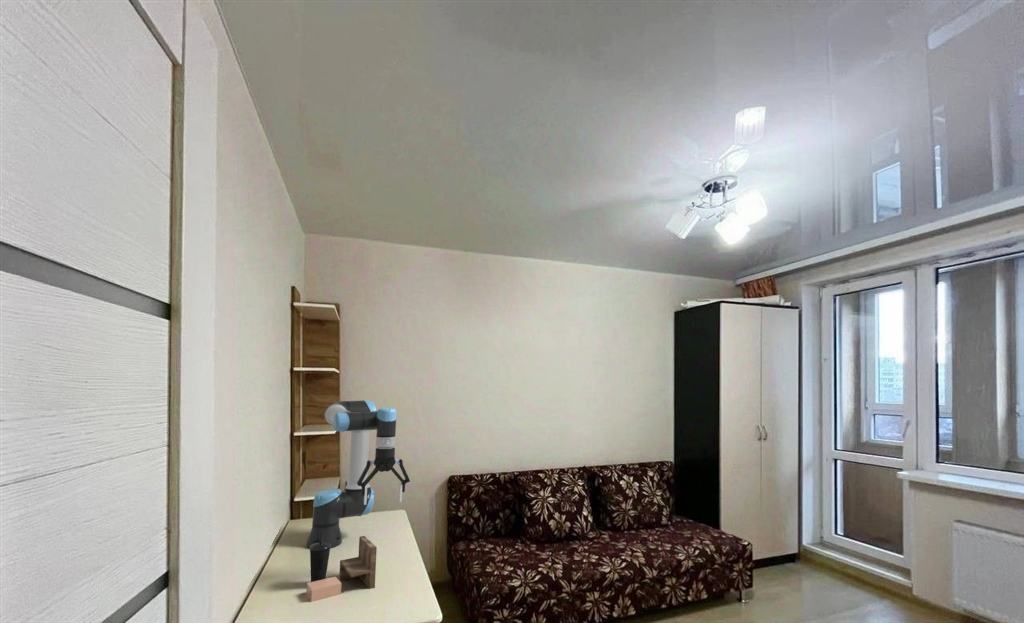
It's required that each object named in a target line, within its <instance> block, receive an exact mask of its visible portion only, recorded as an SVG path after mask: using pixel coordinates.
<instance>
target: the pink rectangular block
mask: <svg viewBox="0 0 1024 623" xmlns="http://www.w3.org/2000/svg"><path fill="white" fill-rule="evenodd" d="M339 595H342V582H341V580H340V579H339V578H337V576H331V577H328V578H327V577H326V579H323V580H318V581H314V582H311V581H309V582H307V583H306V596H307V597H308V600H310V602H316V601H321V600H323V599H329V598H331V597H332V598H333V597H335V596H339Z"/></svg>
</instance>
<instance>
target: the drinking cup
mask: <svg viewBox="0 0 1024 623" xmlns="http://www.w3.org/2000/svg"><path fill="white" fill-rule="evenodd" d="M330 547H331V544H330V543H327V542H322V528H321V529H320V542H318V543H315V544H313V545H311V546H310V547H309V548H308V549H309V555H310V556H309V558H310V559H309V562H310V582H314V581H318V580H323V579H327V572H328V564H329V558H330V551H331V548H330Z"/></svg>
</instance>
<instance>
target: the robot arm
mask: <svg viewBox="0 0 1024 623" xmlns="http://www.w3.org/2000/svg"><path fill="white" fill-rule="evenodd" d="M323 416H324V420H325V421H326V422H327V424H329V425H331V426H333V429H334V431H336V432H343V433H344V432H350V450H349V451H350V454H349V467H348V468H349V472H348V473H349V474H348V484H347V485H346V486H345V487H344V491H342V490H341V489H340V488H330V489H325V490H323V491H319V492H317V493H316V494H315V495H314V498H313V504H312V507H313V508H312V509H313V511H312V525H311V529H310V532H309V535H308V538H307V540H306V547H307V548H308V549H309V547H310V546H311V545H313V544H315V543H318V542H320V529H321V528H322V542H327V543H330V544H331V547H330V549H331V548H335V547H338V546H339V545H341V544H342V543H343V535H342V532H341V528H340V519H345V518H351V517H352V518H353V517H361V516H366V515H369V514H371V511H372V510H373V506H374V502H375V490H374V489H373V488H371V484H370V481H371V480H372V479H373V478H374V476H376V474H378V472H379V473H382V472H390V471H391V472H392V473H393V474H394V475H395V477H396V478H397V479H398V481H400V482H401V483H399V486H398V487H399V489H398V501H399V502H400V503H401V502H402V501H403V493H405V491H406V484H407V483H409V482H411V480H410V478H409V475H408V473H407V470H406V469H405V466H404V461H403V459H402V458H401V457H400V458H398V459H395V458H396V456H395V454H396V453H395V452H396V448H395V446H396V433H397V430H396V429H397V418H398V417H397V409H396V408H394V407H381V408H380V407H379V408H378V409H377V407H376V404H375V403H374V401H372V400H366V399H365V400H342V401H336V402H334V403H332V404H330V405H328V406H327V407H326V409H325V411H324V415H323ZM371 431H376V437H375V447H376V448H375V452H374V453H375V454H374V456H375V458H374V460H370V459H369V449H370V432H371ZM395 464H397V465H398V466H399V468H400V470H401V472H402V474H403V475H402V476H404V479H403V478H402V476H401V475H400V473H398V471H397V470H396V469H395V468H394V466H395ZM373 465H374V466H375V467H374V468H373V470H372V471H371V473H370V474H369V473H368V472H369V470H370V468H371V467H372V466H373Z"/></svg>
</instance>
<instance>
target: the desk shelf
mask: <svg viewBox="0 0 1024 623" xmlns="http://www.w3.org/2000/svg"><path fill="white" fill-rule="evenodd" d="M358 538H359V539H358V556H356V557H351V558H346V559H340V561H339V574H338V575H339V576H338V580H339V581H343V580H348V579H352V578H353V579H354V578H358V577H359V578H360V579H361V580H362V582H363V583H364V584H365V586H366V587H367V588H368V589H373V588H374V589H375V588H376V572H377V570H376V566H377V550H378V549H377V546H376V545H375V544H374V543H373V542H371V540H370V539H369V538H367V536H365V535H362V536H359V537H358Z"/></svg>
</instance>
